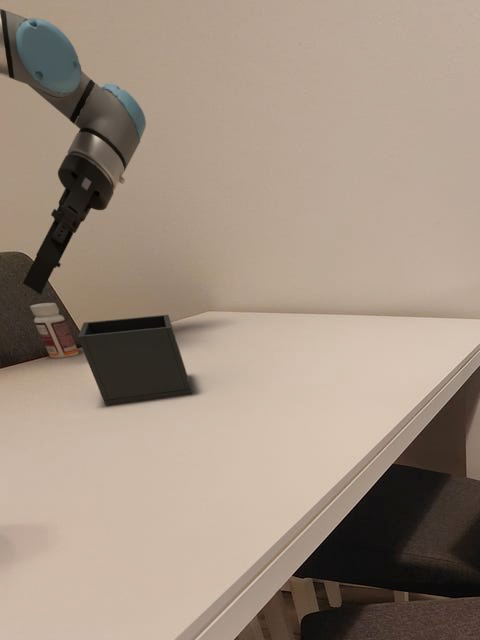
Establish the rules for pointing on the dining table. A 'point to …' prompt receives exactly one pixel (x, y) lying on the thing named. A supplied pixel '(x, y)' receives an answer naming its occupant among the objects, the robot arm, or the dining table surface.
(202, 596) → the dining table surface
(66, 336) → the pill bottle
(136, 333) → the trash bin
